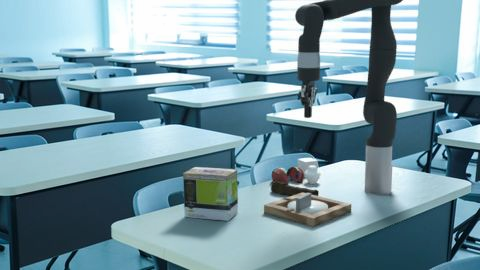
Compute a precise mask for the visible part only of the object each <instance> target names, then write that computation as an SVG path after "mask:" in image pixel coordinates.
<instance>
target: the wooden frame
mask: <svg viewBox="0 0 480 270" xmlns="http://www.w3.org/2000/svg"><path fill="white" fill-rule="evenodd" d="M303 194H305V193H300V194H296V195H289V196H286V197H283V198H281V199H278V200H274V201H272V202H268V203H265V204H263V214H266V215H269V216H273V217H276V218H280V219H283V220H286V221H290V222H294V223H296V224H297V223H298V224H301V225H304V226H308V227H312V228H315V227H318V226H320V225H323V224H325V223H328V222H330V221H333V220H336V219H338V218H341V217H343V216H345V215H348V214H351V213H352V203H348V202H344V201H340V200H338V199H337V200H336V199H332V198H328V197H322V196H319V195H318V196H316V195H311V200H315V201H320V202H323V203H326V204H327V205H328V209H326V210H323V211H320V212H318V213H315V214H308V213H304V212H300V211H297V210H294V209H292V208H291V209H289V208H288V204H289V203H290V202H293V201H296V198H297V197H299V196H301V195H303Z"/></svg>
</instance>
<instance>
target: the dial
mask: <svg viewBox="0 0 480 270" xmlns="http://www.w3.org/2000/svg"><path fill="white" fill-rule="evenodd" d="M288 208H289V209H291V208H292V209H294V210H297V211H300V212H304V213H308V214H315V213H318V212H320V211H323V210H326V209H328V205H327V204H326V203H323V202H320V201H315V200H311V193H305V194H303V195H301V196H299V197H297V198H296V201H293V202H290V203H289V204H288Z"/></svg>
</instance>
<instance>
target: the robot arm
mask: <svg viewBox="0 0 480 270" xmlns="http://www.w3.org/2000/svg"><path fill="white" fill-rule="evenodd" d="M403 1H404V0H322V1H316V2H315V1H314V2H312V3H307V4H304V5H301V6H300V7H298V8H297V10H296V11H295V15H294V17H295V18H294V19H295V21H296V22H297V24H298V25H300V26H302V27H303V31H302V32H303V33H302V34H300V35H299V38H298V47H297V48H298V50H297V51H298V53H297V65H296V66H297V67H296V68H297V69H296V70H297V73H296V74H297V75H296V76H297V77H296V79H297V80H298V81H299V82H300V81H301V82H302V83H301V87H300V91H299V92H298V96H299V99H300V102H301V103H300V104H301V106H302V107H303V113H304V114H303V117H304V118H305V119H310V118H312V116H313V115H312V114H313V111H312V110H313V106H314V104H315V101H316V98H317V93H318V88H317V87H316V83H315V82H317V81H319V80H320V79H321V55H320V50H321V47H320V46H321V44H320V42H321V41H320V39H321V36H322V34H323V33H322V31H323V28H324V23H325V21H333V20H337V19H340V18H343V17H347V16H351V15H352V14H355V13H359V12H361V11H364V10H369V9H371V10H370V11H371V26H370V42H369V52H368V53H369V54H368V70H367V81H366V82H367V85H366V92H365V95H364V97H365V98H364V103H363V108H362V109H363V110H362V113H363V115H362V116H363V119H364V120H365V122H366V123H367V124H370V125H372V132H371V135H368V136H367V137H366V139H365V170H364V171H365V172H364V192H365V193H367V194H370V195H377V196H380V195H382V196H383V195H389V194H390V193H392V192H391V191H392V189H393V187H392V186H393V185H392V184H393V183H392V181H393V165H392V164H393V162H392V161H393V143H394V140H395V138H396V137H395V136H396V131H397V130H396V129H397V118H398V117H397V115H398V114H397V113H398V112H397V109H396V106H395V104H393V103H392V102H389V101H386V100H385V93H386V85H387V82H388V80H389V78H390V76H391V74H392V72H393V70H394V68H395V65H396V63H397V62H396V60H397V49H398V48H397V46H398V45H397V38H396V36H395V33H394V29H393V27H392V22H391V14H392V13H391V11H392V6H396V5H398V4H400V3H402V2H403Z"/></svg>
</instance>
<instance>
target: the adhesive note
mask: <svg viewBox="0 0 480 270" xmlns="http://www.w3.org/2000/svg"><path fill="white" fill-rule="evenodd" d="M296 162H297V165H296V166H297V167H296V168H300V169H302V171H303V173H305V171H307V169H308V167H309V166H311V165H314V166H316V167H317V169H318V170H319V167H318V166H319V162H318V159H316V158H312V157H304V158H302V157H301V158H297V161H296ZM304 177H305V174H304Z"/></svg>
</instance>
